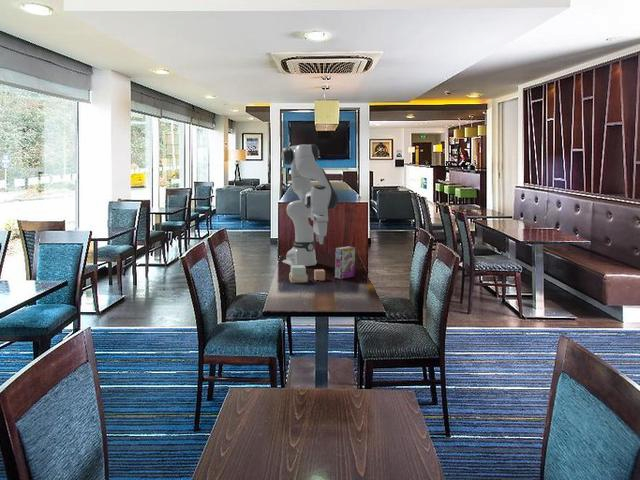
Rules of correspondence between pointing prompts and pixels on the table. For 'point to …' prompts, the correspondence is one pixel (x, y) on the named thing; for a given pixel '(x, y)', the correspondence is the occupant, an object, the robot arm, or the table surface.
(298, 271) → the tower top
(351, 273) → the candy bar box
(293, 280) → the tower base
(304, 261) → the robot arm
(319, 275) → the terracotta cube
